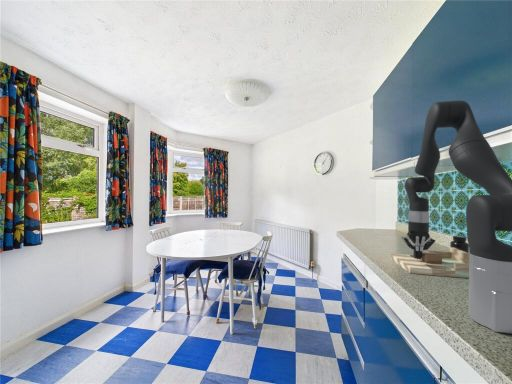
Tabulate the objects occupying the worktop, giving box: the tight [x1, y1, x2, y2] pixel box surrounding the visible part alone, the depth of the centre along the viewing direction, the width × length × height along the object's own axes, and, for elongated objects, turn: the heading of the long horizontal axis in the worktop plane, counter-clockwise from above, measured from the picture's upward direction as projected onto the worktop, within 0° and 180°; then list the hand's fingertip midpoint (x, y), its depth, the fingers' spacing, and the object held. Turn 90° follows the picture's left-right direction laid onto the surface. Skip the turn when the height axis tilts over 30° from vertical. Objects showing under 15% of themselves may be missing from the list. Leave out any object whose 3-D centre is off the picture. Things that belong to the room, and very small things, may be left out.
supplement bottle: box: [449, 235, 469, 253], centre depth 106 cm, size 7×7×12 cm
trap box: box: [390, 246, 469, 279], centre depth 95 cm, size 20×27×8 cm
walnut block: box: [419, 251, 442, 265], centre depth 96 cm, size 6×6×4 cm
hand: (417, 258), depth 96 cm, fingers closed
